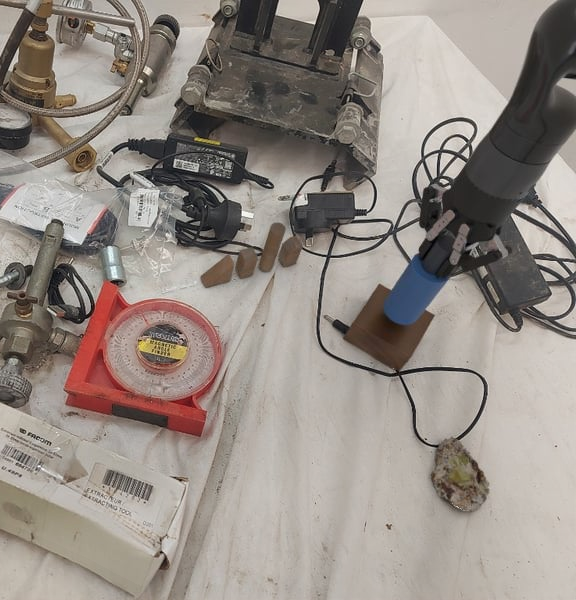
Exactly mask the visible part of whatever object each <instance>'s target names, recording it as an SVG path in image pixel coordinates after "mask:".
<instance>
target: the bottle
mask: <svg viewBox="0 0 576 600" xmlns="http://www.w3.org/2000/svg"><path fill="white" fill-rule="evenodd" d="M455 240H456V237H455V238H454V237H453V236H450V235H447V234H445V235H443V236H440V237H439V238H438V239H437V240H436V242H435V243H434V245H433V246H432V248H431V249H430V251H429V252H428V254H427V255H426V256H425V258H424V259H423V260H421V259H420V258H419V257H418V255H419V252H417V253H416V254H415V255H414V256H413V257H412V259H410V261H409V263H408V264H407V265H406V267H405V269H404V271H403V272H402V273H401V275H400V277H399V278H398V279H397V281H396V282H395V284H394V285H393V286H392V288H391V289H390V290H391V292H390V293H389V295H388V296H387V298H386V299H385V301H384V303H383V309H384V312H385V314H386V315H387V317H388V318H389V319H391V320H392V321H394V322H395V323H398V324H401V325H410V324H413V323H415V322H416V321H417V320H418V318H419V317H420V316H421V314H422V313H423V312H424V311H425V310H427V308H428V307H429V306H430V304H431V303H432V302H433V301H434V300H435V298H436V297H437V296H438V294H439V293H440V292H441V290H442V289H443V288H444V287H445V285H446V284H447V283H448V282H449V281H450V279H451V277H452V275H451V276H449V277H447V278H445V279H444V278H443V277H442V278H440V279H439V278H438V277H437V276H436V273H437V272H438V271H439V269H440V268H441V266H442V265H443V264H444V262H445V261H446V260H447V259H449V258H450V256H451V254H452V252H453V250H454V249H453V248H452V247H453V245H454V242H455Z"/></svg>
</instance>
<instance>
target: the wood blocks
mask: <svg viewBox="0 0 576 600" xmlns="http://www.w3.org/2000/svg"><path fill="white" fill-rule="evenodd" d="M286 231H287V227H286V226H285V224H283V223H281V222H278V221H277V222H273V223H272V224H271V225H270V227H269V230H268V233H267V236H266V240H265V243H264V246H263V249H262V253H261V256H260V259H259V256H258V254H257V253H256V250H255V249H254V248H253V246H252V247H246V248H243V249H240V250H239V251H238V255H237V258H236V263H235V262H234V259H233V258H232V256H231V254H230V253H227V254H226V255H224V256H223V257H222V258H221V259H220V260H219V261H217V262H216V263H215V264H213V265H212V266H211V267H210V268H209V269H208V270H206V271H205V272H204V273H203V274H201V275H200V280H201V282H202V283H203V285H204V288H208V287H213V286H217V285H220V284H225V283H228V282H230V281H232V276H233V273H234V269H235V271H236V273H237V274H238V277H239V278H240V279H243V278H247V277H251V276H253V275H254V272H255V271H256V267H257V263H258V268H259V269H260V270H261V271H262V272H265V273H266V272H267V273H268V272H270V270H271V269H272V270H273V267H274V265H275V263H276V259H277V258H278V257H279V258H278V260H279V259H280V260H279V262H280V263H281V265H282V267H283V268H285V267H289V266H294V265H296V264H297V262H298V260H299V258H300V255H301V252H302V250H303V248H304V245H303V243H302V242H301V240H300V238H299V237H298V236H297V235H294V236H290V237H289V238H287V239H286V240H285V241H283V239H284V236H285V234H286ZM258 260H259V262H258ZM272 270H271V271H272ZM196 285H197V281H193V282H192V281H191V282H189V283H186V284H182V285H180V286H179V289H184V288H190V287H194V286H196ZM176 289H178V286H172V288H168V289H167V288H165V289H162V290H161V294H165V293H169V292H172V291H176Z"/></svg>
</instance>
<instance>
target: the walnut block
mask: <svg viewBox="0 0 576 600" xmlns="http://www.w3.org/2000/svg"><path fill="white" fill-rule="evenodd" d="M391 290H392V289H391V288H388V287H387V286H385V285H383V284H382V283H378V284H377V286H376V288H375V289H374V290H373V292H372V293H371V294H370V296H369V298H368V299H367V300H366V302H365V303H364V305H363V306H362V308H361V310H359V313H358V314H357V315H356V317H355V319H354V320H353V321H352V323H351V324H350V326H349V328H348V330H347V331H346V333H345V335H344V336H343V340H344V341H346V342H348V343H349V344H350V345H353V346H354V347H356V348H357V349H359V350H361V351H363V352H364V353H366V354H367V355H369V356H371V357H372V358H374V359H375V360H377V361H379V363H381V364H384V365H385V366H386V367H388V368H390V369H392V368H394V369H395V370H397V371H399V372H401V370H402V369H403V368H404V367H405V366H406V364H407V363H408V361H409V360H411V358H412V357H413V355H414V354H415V351H416V350H417V348H418V347H419V345H420V344H421V341H422V340H423V338H424V336H425V334H426V332H427V331H428V329H429V327H430V325H431V324H432V321H433V320H434V319H435V317H436V315H435V313H432V312H430V311H429V310H427V309H425V311H424V312H423V313H422V314H421V316H420V317H419V318H418V320H417V321H416V322H415V323H413V324H410V325H401V324H398V323H395V322H394V321H392V320H391V319H389V318H388V317H387V315H386V314H385V312H384V309H383V303H384V301H385V299H386V298H387V296H388V295H389V293H390V292H391ZM395 370H394V371H395ZM397 371H396V372H397Z"/></svg>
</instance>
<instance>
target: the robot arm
mask: <svg viewBox="0 0 576 600" xmlns="http://www.w3.org/2000/svg"><path fill="white" fill-rule="evenodd" d="M528 41H529V42H528V45H527V48H526V51H525V55H524V59H523V62H522V66H521V69H520V71H519V75H518V78H517V80H516V82H515V85H514V88H513V91H512V94H511V96H510V98H509V100H508V102H507V103H506V105H505V106H504V108H503V109H502V111H501V112H500V114H499V115H498V117H497V119H496V120H495V122H494V123H493V125H492V126H491V128H490V129H489V131H488V132H487V133H486V134H485V135H484V136H483V137H482V139H480V141H479V143H478V144H477V145H476V147H475V148H474V149H473V152H472V153H471V154H470V156H469V158H468V159H467V160H466V162H465V164H464V165H463V167H462V169H461V170H460V172H459V173H458V174H457V176H456V178H455V179H454V181H453V182H452V184H451V186H450V188H447V187H445V185H444V184H443V182H442V181H438V182H436V183H433V184H431V185H428V186H426V187H423V191H422V195H421V196H422V197H421V205H420V206H421V207H420V212H419V220H418V225H419V227H420V229H423V230H425V237H424V239H423V241H422V242H421V243H420V246H419V247H418V250H417V252H418V253H419V255H418V257H419V258H420V259H421V260H423V259H424V258H425V256H426V255H427V254H428V252H429V251H430V249H431V248H432V246H433V245H434V243H435V242H436V240H437V239H438V238H439V237H440V236H443V235H447V233H449V232H450V233H451V234H452V235H453V236H454V237H455V239H456V240H455V242H454V245H453V247H452V248H453V249H454V250H453V252H452V254H451V256H450V258H449V259H447V260H446V261H445V262H444V264H443V265H442V266H441V268H440V269H439V271H438V272H437V273H436V276H437V277H438V278H439V279H440V278H442V277H443V278H444V279H445V278H447V277H449V276H451V277H452V276H454V275H455V274H456V273H457V272H458V270H459V269H460V268H461V270H462V271H463V272H464V273H468V272H470V271H473V270H476V269H479V268H481V267H485V266H488V265H490V264H492V263H495V262H498V261H500V260H502V259H504V258H506V257H508V256H510V255H512V253H513V249H512V247H511V246H509V245H504V243H503V241H502V239H501V237H500V236H501V234H502V232H503V231H502V229H503V226H504V224H505V222H507V221H508V219H509V218H510V217H511V215H513V213H514V212H515V210H516V209H517V208H518V207H519V206H520V204H521V203H522V201H524V199H525V198H526V197H527V195H529V193H531V192H532V191H533V189H534V188H536V186H537V183H538V182H539V181H540V179H541V178H542V176H543V175H544V173H545V172H546V171H547V168H548V167H549V165H550V164H551V162H552V160H553V159H554V158H555V156H556V155H557V154H558V153H559V152H560V150H561V149H562V148H563V147H564V145H565V144H566V143H567V142H568V140H569V139H570V138H571V136H572V135H574V133H575V131H576V94H574V93H573V92H571V91H570V90H568V89H566V88H564V87H563V86H560V85H558V83H559V82H560V81H561V80H562V79H566V80H567V79H568V80H574V81H576V0H555V1H554V2H553V3H551V4H550V5H549V6H548V7H547V8H546V9H545V10H544V11H543V12H542V13H541V15H540V16H539V17H538V19H537V21H536V22H535V25H534V26H533V29H532V32H531V35H530V38H529V40H528ZM441 210H442V211H441ZM441 212H442V215H441ZM440 216H441V217H440ZM482 242H487V243H488V244H487V246H486V247H485V248H484V250H483V252H482V253H483V254H480V255H478V256H475V257H474V256H473V255H472V254H473V252H474V250H475V248H476V247H477V246H478V245H479V244H480V243H482Z"/></svg>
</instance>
